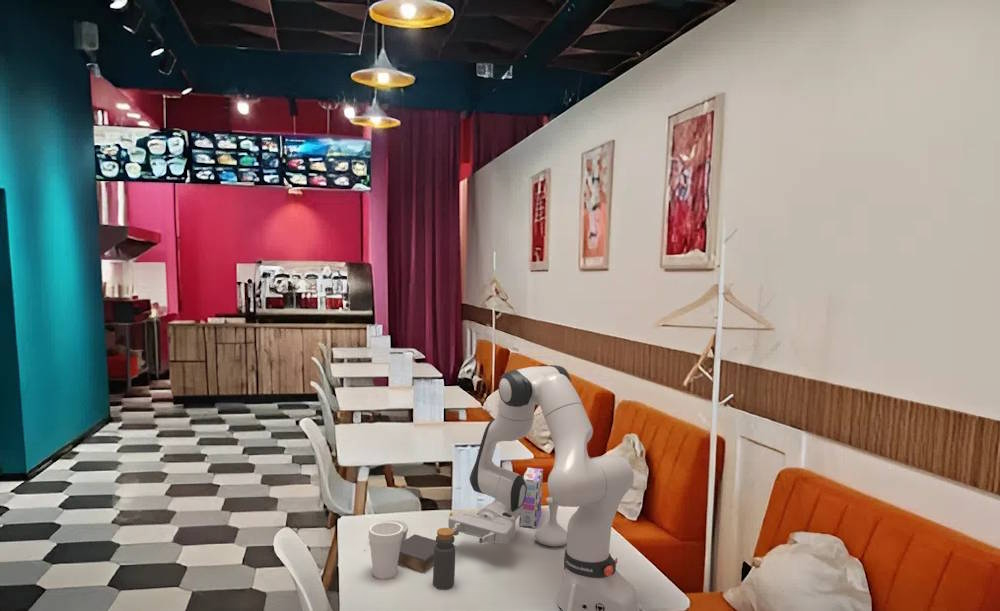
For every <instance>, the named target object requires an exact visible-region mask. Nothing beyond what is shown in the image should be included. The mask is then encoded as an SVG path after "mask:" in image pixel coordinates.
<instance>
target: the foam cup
mask: <svg viewBox="0 0 1000 611" xmlns="http://www.w3.org/2000/svg"><path fill="white" fill-rule="evenodd" d="M379 522H380V523H378V522H376V523H373V524H372V525H370V527H369V529H368V539H369V546H370V557H371V565H372V574H373V576H374V578H377V579H380V580H388V579H392V578H394V577H395V576H396V574H397V569H398V566H399V565H398V559H399V552H400V546H401V540H402V537H403V527H402V525H401V524H398V523H396V522H381V521H379Z"/></svg>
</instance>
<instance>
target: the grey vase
mask: <svg viewBox="0 0 1000 611" xmlns="http://www.w3.org/2000/svg"><path fill="white" fill-rule="evenodd" d="M545 501H546V502H547V505H548V509H549V518H548V521H547V522H546V523H545V524H544V525H542V526H540V527H539V528H538V529H536V531H535V533H534V535H533V536H534V539H535V540H536V541H537V542H538V543H539V544H542V545H545V546H548V547H559V546H564V545H567V532H568V531H567V530H566V529H565V528H563V527H562V525H560V524H559V523H558V521H557V514H558V509H559V507H560V506H559V505H558V504H556V503H555V502H554V501H553V499H552V498H551V496H548V497H546V499H545Z"/></svg>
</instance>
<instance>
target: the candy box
mask: <svg viewBox="0 0 1000 611" xmlns="http://www.w3.org/2000/svg"><path fill="white" fill-rule="evenodd" d="M526 468H527V469H526V471H525V472H524V474H523V475H522V476H523V478H524V480H525V483H526V487H527V492H526V497H525V500H524V503H523V510H522V512H521V514H520V515H519V522H518V524H519V525H518V526H519V527H523V528H529V529H536V528H537V525H538V523H539V519H540V517H541V514H542V497H543V473H544V472H543V471H544V469H543V468H536V467H526Z"/></svg>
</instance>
